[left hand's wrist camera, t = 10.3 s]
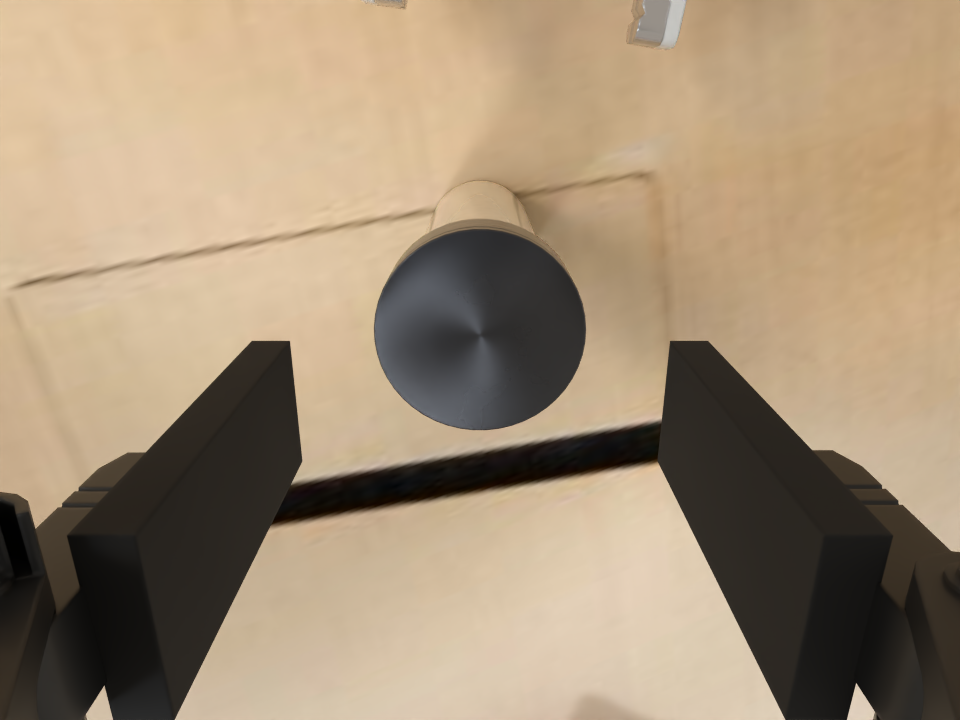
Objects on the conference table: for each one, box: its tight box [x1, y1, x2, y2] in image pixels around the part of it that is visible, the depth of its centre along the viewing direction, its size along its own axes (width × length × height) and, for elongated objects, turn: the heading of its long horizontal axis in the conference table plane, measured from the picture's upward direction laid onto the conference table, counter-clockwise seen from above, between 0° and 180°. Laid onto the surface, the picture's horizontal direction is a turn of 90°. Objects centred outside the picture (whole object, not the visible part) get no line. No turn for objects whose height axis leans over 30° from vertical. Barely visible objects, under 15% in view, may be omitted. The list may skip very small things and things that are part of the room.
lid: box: [374, 219, 586, 430], centre depth 19 cm, size 6×6×2 cm
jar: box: [425, 181, 535, 235], centre depth 26 cm, size 5×5×15 cm
